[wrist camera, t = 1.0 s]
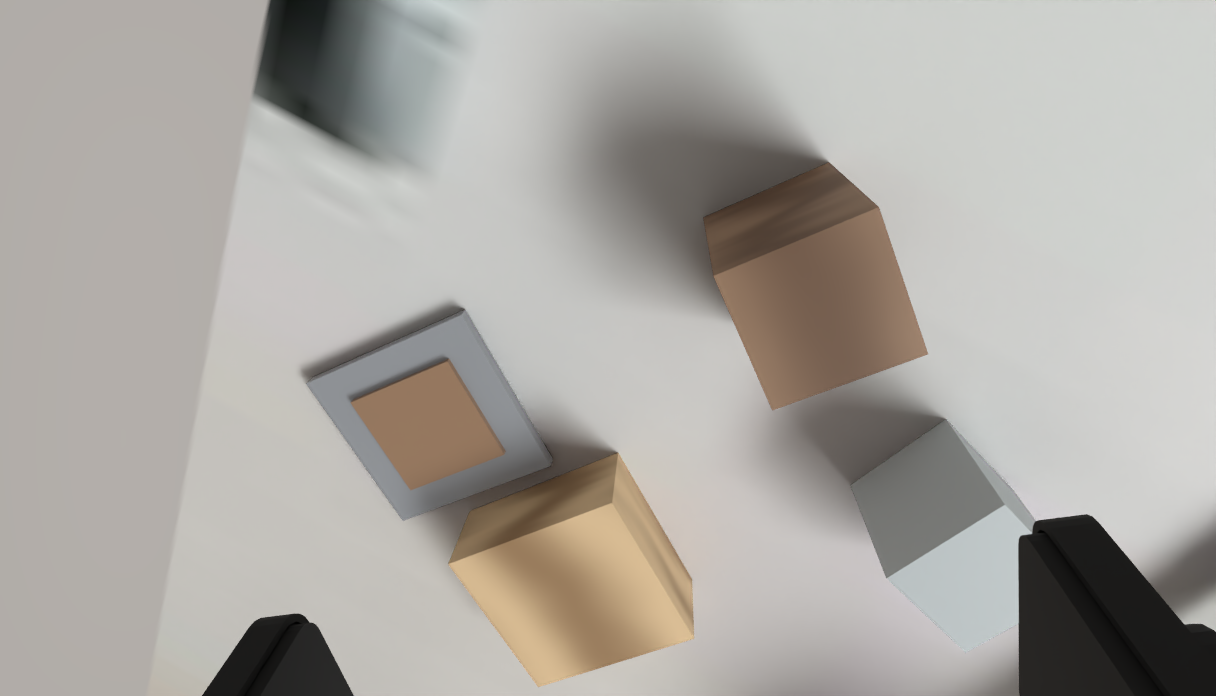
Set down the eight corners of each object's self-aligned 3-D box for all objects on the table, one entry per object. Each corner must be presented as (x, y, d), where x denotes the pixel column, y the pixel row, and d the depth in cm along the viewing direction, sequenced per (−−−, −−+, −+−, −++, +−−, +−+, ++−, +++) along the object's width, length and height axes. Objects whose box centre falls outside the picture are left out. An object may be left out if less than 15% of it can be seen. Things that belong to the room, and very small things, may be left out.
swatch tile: (465, 309, 30) (459, 317, 29) (552, 458, 33) (549, 469, 32) (312, 377, 32) (303, 386, 31) (407, 512, 35) (400, 524, 34)
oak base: (618, 449, 33) (612, 502, 29) (691, 575, 36) (694, 638, 32) (471, 507, 35) (448, 564, 31) (550, 622, 38) (538, 687, 34)
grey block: (945, 418, 31) (1004, 504, 25) (1013, 490, 32) (1084, 587, 27) (849, 484, 33) (886, 578, 27) (918, 550, 34) (965, 652, 28)
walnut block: (828, 162, 27) (878, 207, 20) (870, 279, 28) (928, 354, 22) (703, 217, 28) (713, 276, 22) (750, 326, 30) (772, 410, 23)
